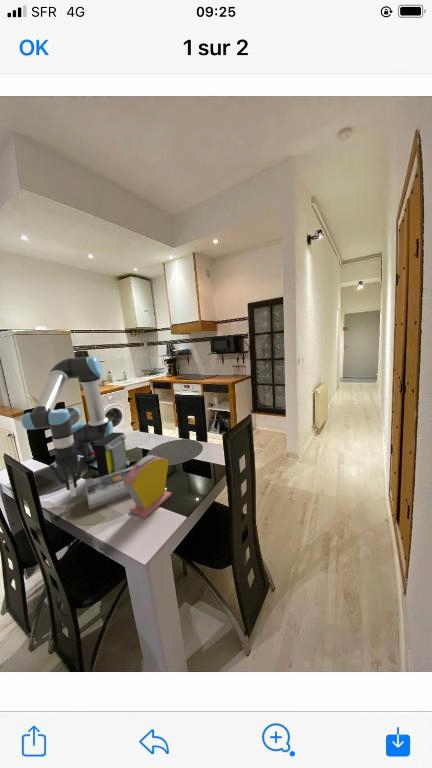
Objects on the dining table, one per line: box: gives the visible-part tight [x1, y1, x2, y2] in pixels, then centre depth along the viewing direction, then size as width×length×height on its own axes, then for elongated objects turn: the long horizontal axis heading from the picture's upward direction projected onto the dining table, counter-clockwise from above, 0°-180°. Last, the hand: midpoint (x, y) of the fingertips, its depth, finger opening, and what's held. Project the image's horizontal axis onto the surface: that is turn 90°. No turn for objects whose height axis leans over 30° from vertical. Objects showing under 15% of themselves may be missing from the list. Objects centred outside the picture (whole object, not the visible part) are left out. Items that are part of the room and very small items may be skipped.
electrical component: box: [91, 432, 130, 477], centre depth 137 cm, size 18×10×20 cm, turn 168°
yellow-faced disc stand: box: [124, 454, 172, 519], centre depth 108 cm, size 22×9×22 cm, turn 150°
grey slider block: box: [84, 477, 101, 492], centre depth 115 cm, size 7×6×5 cm
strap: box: [102, 475, 127, 487], centre depth 121 cm, size 6×16×2 cm, turn 123°
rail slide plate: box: [84, 465, 135, 510], centre depth 120 cm, size 14×26×7 cm, turn 123°
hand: (73, 494), depth 111 cm, fingers closed
